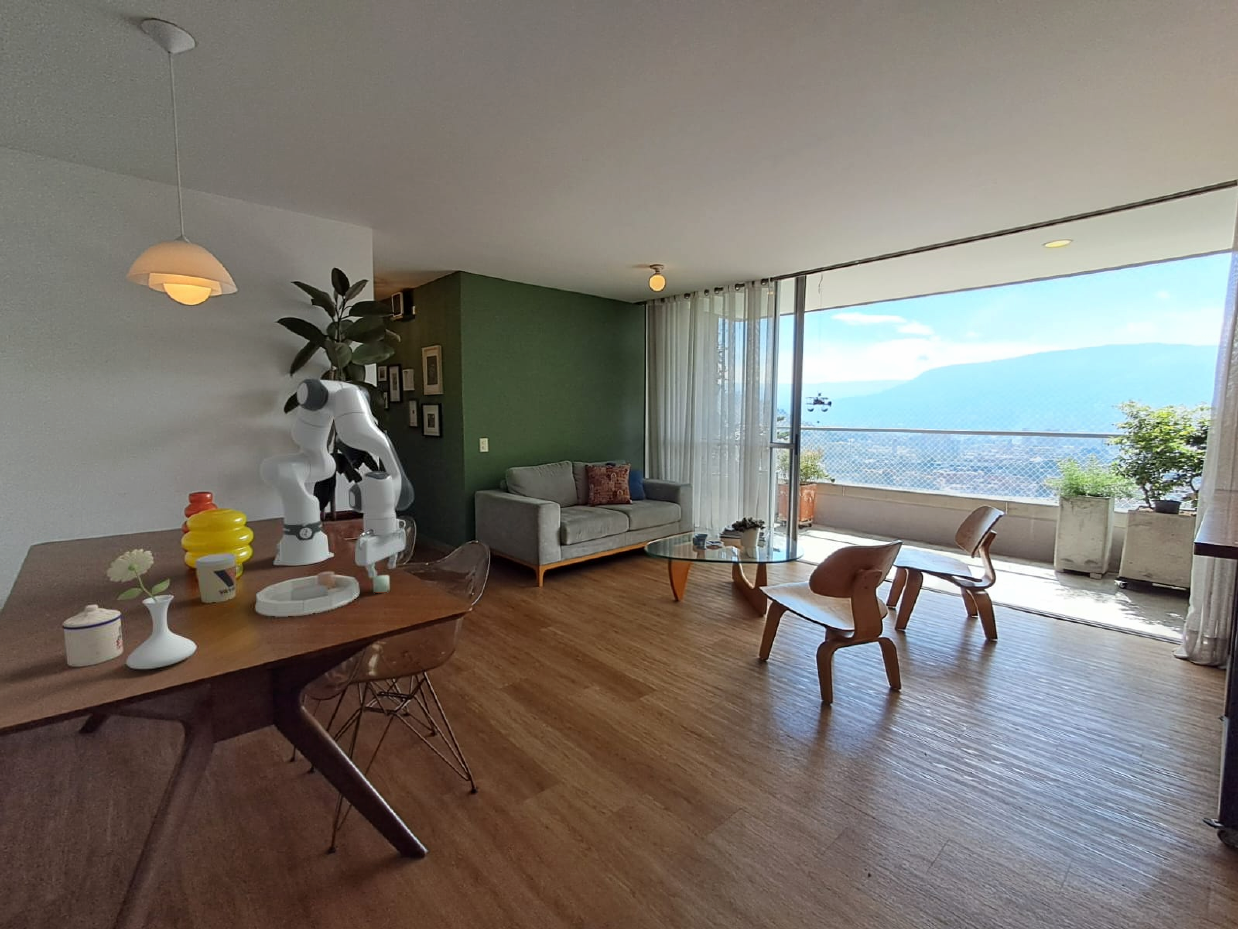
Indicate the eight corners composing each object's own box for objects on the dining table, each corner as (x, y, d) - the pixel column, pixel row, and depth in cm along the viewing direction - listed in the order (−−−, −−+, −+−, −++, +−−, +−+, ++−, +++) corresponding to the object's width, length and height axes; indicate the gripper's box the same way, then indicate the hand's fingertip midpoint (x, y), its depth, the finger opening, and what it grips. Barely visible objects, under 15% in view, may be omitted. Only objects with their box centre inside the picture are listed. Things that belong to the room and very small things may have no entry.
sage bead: (371, 591, 159) (371, 576, 159) (387, 588, 162) (386, 574, 162) (375, 595, 156) (375, 580, 155) (391, 591, 159) (391, 577, 158)
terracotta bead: (316, 587, 159) (316, 573, 159) (333, 584, 162) (332, 570, 161) (319, 591, 156) (319, 576, 155) (336, 588, 158) (335, 574, 158)
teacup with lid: (131, 654, 117) (127, 603, 116) (74, 672, 109) (69, 616, 108) (110, 643, 123) (106, 593, 122) (54, 658, 115) (49, 606, 114)
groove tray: (251, 597, 153) (250, 585, 153) (348, 580, 169) (347, 569, 169) (260, 624, 133) (260, 611, 133) (370, 602, 150) (369, 590, 149)
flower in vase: (189, 645, 121) (181, 537, 119) (203, 660, 114) (195, 545, 112) (111, 666, 111) (100, 549, 109) (121, 684, 104) (110, 558, 102)
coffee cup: (222, 604, 148) (219, 562, 147) (189, 604, 148) (186, 561, 147) (246, 593, 157) (244, 553, 156) (215, 593, 158) (212, 553, 156)
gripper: (368, 534, 146) (371, 583, 148) (408, 520, 167) (410, 563, 168) (347, 534, 147) (350, 583, 149) (389, 520, 167) (392, 563, 169)
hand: (382, 572), depth 158 cm, fingers open, 8 cm apart
